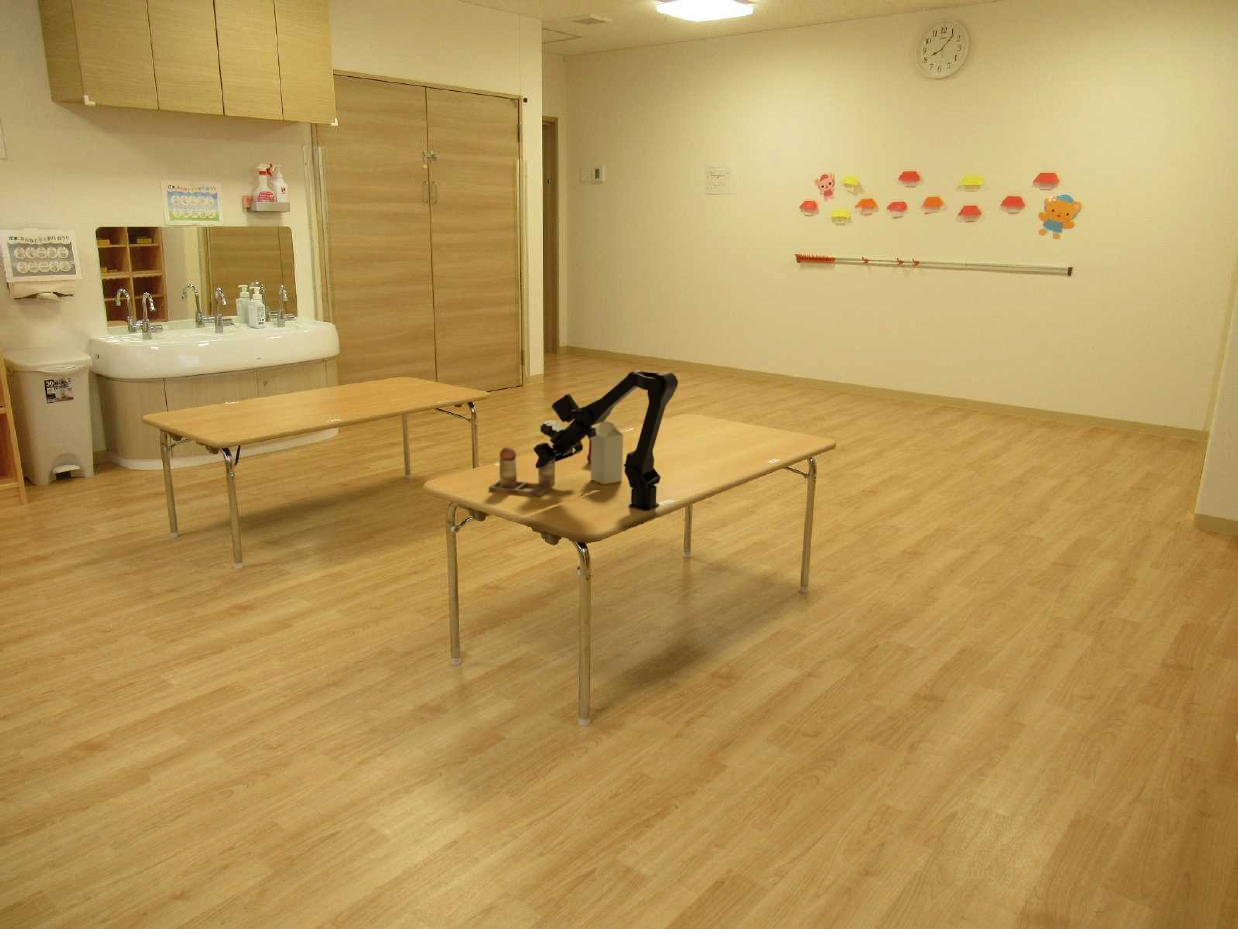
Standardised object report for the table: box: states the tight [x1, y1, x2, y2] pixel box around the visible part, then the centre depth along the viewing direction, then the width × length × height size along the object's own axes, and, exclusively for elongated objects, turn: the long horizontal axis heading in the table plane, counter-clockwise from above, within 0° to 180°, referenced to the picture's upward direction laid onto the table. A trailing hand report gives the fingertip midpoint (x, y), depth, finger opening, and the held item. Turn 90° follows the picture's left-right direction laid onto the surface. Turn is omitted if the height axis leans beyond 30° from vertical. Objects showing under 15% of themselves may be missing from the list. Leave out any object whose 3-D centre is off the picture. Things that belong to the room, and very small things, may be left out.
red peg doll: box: [498, 446, 518, 489], centre depth 267 cm, size 5×5×13 cm
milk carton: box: [590, 420, 624, 485], centre depth 279 cm, size 7×7×19 cm
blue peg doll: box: [537, 446, 556, 486], centre depth 273 cm, size 5×5×13 cm
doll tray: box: [488, 479, 552, 498], centre depth 267 cm, size 16×9×2 cm, turn 74°
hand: (542, 464), depth 273 cm, fingers open, 6 cm apart
